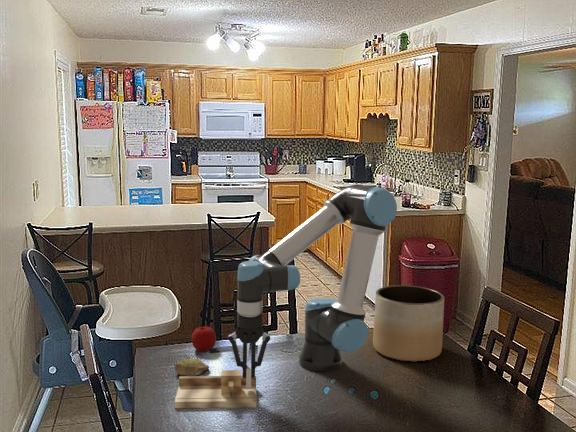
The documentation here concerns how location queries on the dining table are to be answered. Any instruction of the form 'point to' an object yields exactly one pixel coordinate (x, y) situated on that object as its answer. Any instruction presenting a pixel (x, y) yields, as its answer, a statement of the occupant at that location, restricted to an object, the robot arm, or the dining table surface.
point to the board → (212, 393)
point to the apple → (203, 339)
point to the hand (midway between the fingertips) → (248, 387)
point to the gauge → (230, 382)
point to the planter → (408, 322)
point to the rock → (190, 367)
